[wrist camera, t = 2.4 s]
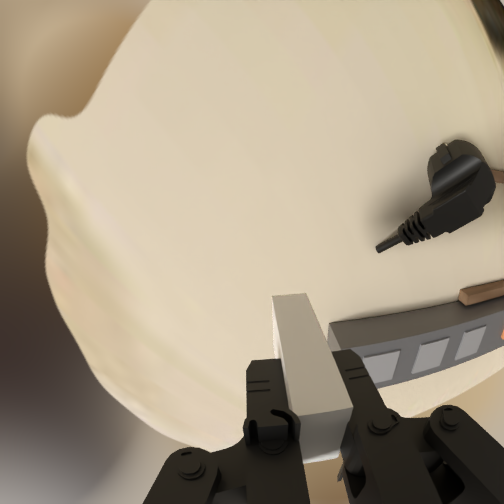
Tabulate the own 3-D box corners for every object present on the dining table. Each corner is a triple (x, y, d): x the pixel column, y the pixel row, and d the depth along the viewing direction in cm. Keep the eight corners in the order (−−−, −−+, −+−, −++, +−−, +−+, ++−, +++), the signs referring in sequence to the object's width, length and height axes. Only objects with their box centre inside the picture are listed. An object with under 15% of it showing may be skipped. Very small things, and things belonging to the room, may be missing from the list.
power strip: (329, 323, 25) (342, 353, 21) (505, 289, 25) (526, 304, 20) (324, 370, 27) (334, 401, 22) (493, 327, 27) (511, 344, 22)
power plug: (355, 235, 21) (483, 155, 12) (363, 184, 26) (456, 115, 16) (395, 275, 22) (512, 215, 13) (397, 220, 27) (487, 164, 18)
